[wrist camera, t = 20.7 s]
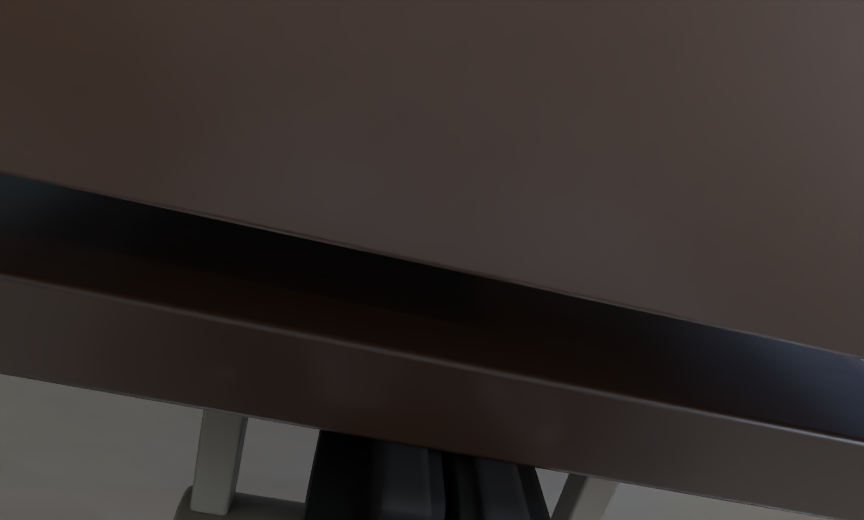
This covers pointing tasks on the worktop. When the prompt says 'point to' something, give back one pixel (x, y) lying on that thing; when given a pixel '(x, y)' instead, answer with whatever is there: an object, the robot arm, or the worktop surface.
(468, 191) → the cabinet
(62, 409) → the worktop surface
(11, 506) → the worktop surface
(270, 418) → the drawer
